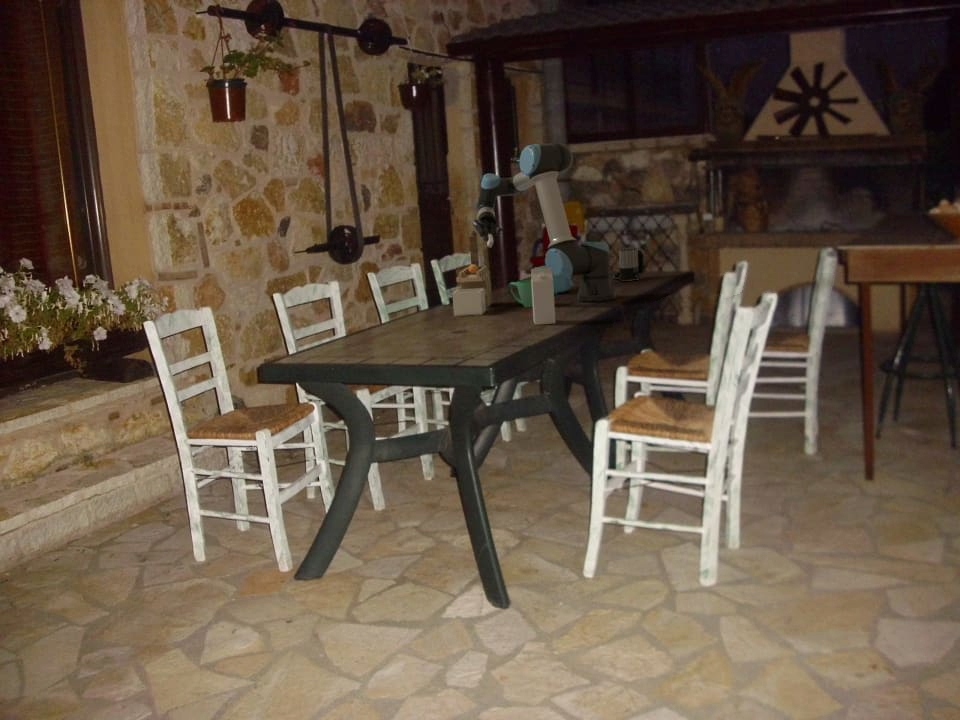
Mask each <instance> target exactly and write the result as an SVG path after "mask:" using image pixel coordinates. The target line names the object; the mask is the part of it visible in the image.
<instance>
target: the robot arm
mask: <svg viewBox="0 0 960 720" xmlns="http://www.w3.org/2000/svg"><path fill="white" fill-rule="evenodd" d="M573 158H574V156H573V153H572V150H571V149H570V148H569V147H568V146H567V145H565V144H564V143H561V142H554V143H534V144H529V145H526V146H524V148H523V149H522V151H521V154H520V157H519V169H520V172H519V173H517V174H516V175H514V176H512V177H505V178H501V177H500V176H499V175H497V174H495V173H489V172H488V173H485V174H484V175H483V176H482V179H481V184H480V190H479V195H478V199H477V201H476V203H475V210H476V216H477V219H474V221H473V223H472V226H473V227H474V228H475V230H476V231H477V233H478V235H479V237H480V238H481V237H482V238H483V240H484V241H485V242H486V244H487V246H486V247H488V248H490V249H492V247H493V245H494V243H495V242H497V241H498V238H499V236H500V235H502V232H503V230H504V229H503V228H502V227H498V225H497V220H496V215H495V214H496V213H495V205H496V201H497V198H498V197H507V196H508V197H509V196H520V195H524V194H526V193H527V191H528V190H529V188H531V187H533V186H535V189H536V190H535V191H536V193H537V197H538V201H539V204H540V208H541V213H542V216H543V219H544V223H545V226H546V231H547V234H548V238H549V242H550V243H549V245H548V247H547V250H548V251H546V253H545V258H544V263H545V266H546V267H547V268H552V275H553V276H554V277H556V278H568V277H571V278H572V277H578V276H580V283H579V286H578V292H577V295H576V296H577V297H576V299H577V301H578V302H583V301H588V302H589V301H590V302H589V303H591V301H598V302H605V301H604V300H607V301H611V300H610V299H612V300H614V298H615V299H616V292H615V289H614V286H613V283H612V281H611V271H610V270H611V269H610V268H611V267H610V266H611V265H610V264H611V263H610V248H609V244H608V243H607V242H604V241H603V242H601V241H579V243H578V240H577V238H575V237H573V235H572V233H571V229H570V226H569V225H570V224H569V221H568V218H567V214H566V210H565V207H564V203H563V199H562V195H561V190H560V188H559V184H558V180H557V178H558V177H559V175H561V174H564V173H565V172H567V171H568V170H569V169H570V168H571V167H572V164H573V160H574V159H573ZM495 232H496V233H495Z"/></svg>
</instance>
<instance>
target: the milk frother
mask: <svg viewBox="0 0 960 720" xmlns="http://www.w3.org/2000/svg"><path fill="white" fill-rule="evenodd" d="M617 250H618V259H619V261H618V262H619V271H616V272H614V273H613V274H610V279H612V278H620V279H621V280H629V279H630V280H631V279H637V278H639V279H640V274H643V273H644V253H643V251H642V250H640V249H639V247H635V246H633V247H632V246H631V247H622V248H618V249H617ZM620 279H619V280H620Z"/></svg>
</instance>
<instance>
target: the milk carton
mask: <svg viewBox="0 0 960 720" xmlns="http://www.w3.org/2000/svg"><path fill="white" fill-rule="evenodd" d="M530 272H531V273H530V280H531V286H532V303H533V307H532V319H533V323H534V325H536V326H538V325H539V326H540V325H548V324H549V325H551V324H552V325H553V324H556V309H555V295H554V288H553V276H552V268H544V269H534V268H532V269H530Z"/></svg>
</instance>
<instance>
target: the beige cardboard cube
mask: <svg viewBox="0 0 960 720" xmlns="http://www.w3.org/2000/svg"><path fill="white" fill-rule="evenodd" d="M451 296H452V306H453V316H454V317H467V316H468V315H469V316H470V317H471V315H473V316H482V315H484V314H485V313H486V311H487V308H486V304H485V290H484V288H474V289H461V288H459V289H455V290H454V291H453V292H452V295H451ZM469 316H468V317H469Z"/></svg>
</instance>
